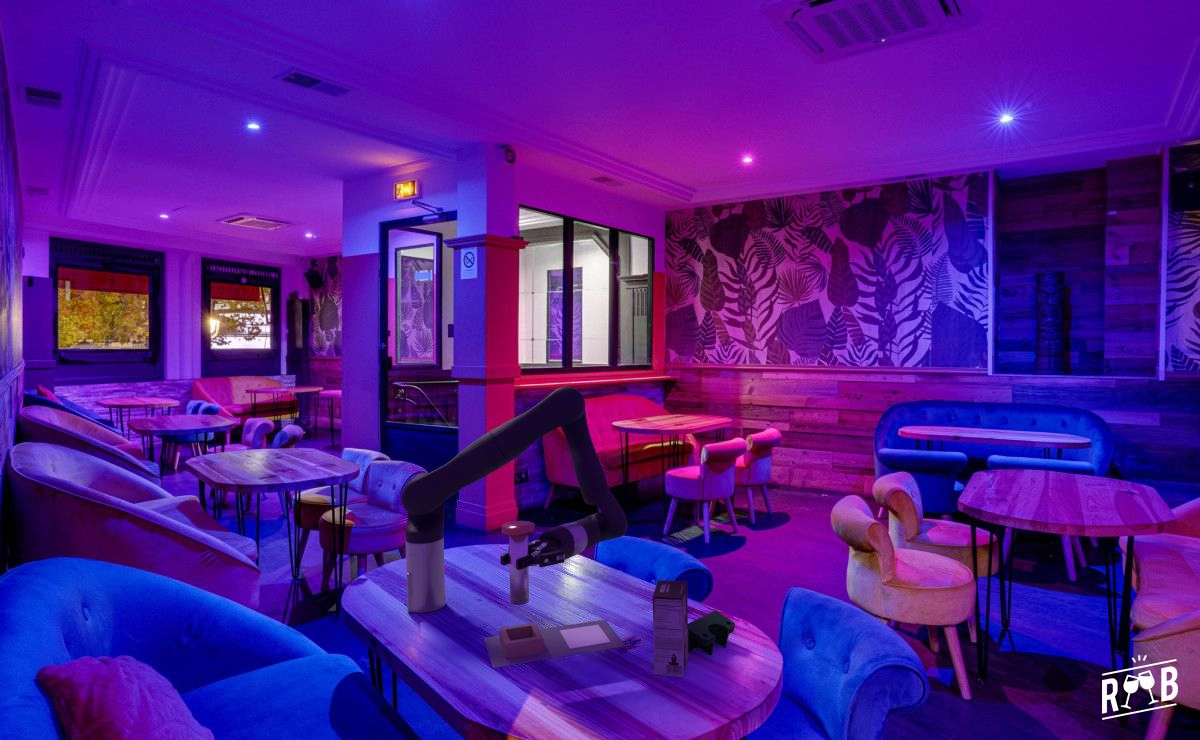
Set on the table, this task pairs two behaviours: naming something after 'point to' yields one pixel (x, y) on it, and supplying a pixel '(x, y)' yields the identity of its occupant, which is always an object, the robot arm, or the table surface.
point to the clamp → (709, 632)
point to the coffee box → (670, 628)
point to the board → (549, 642)
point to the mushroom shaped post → (518, 549)
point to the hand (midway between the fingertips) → (509, 562)
